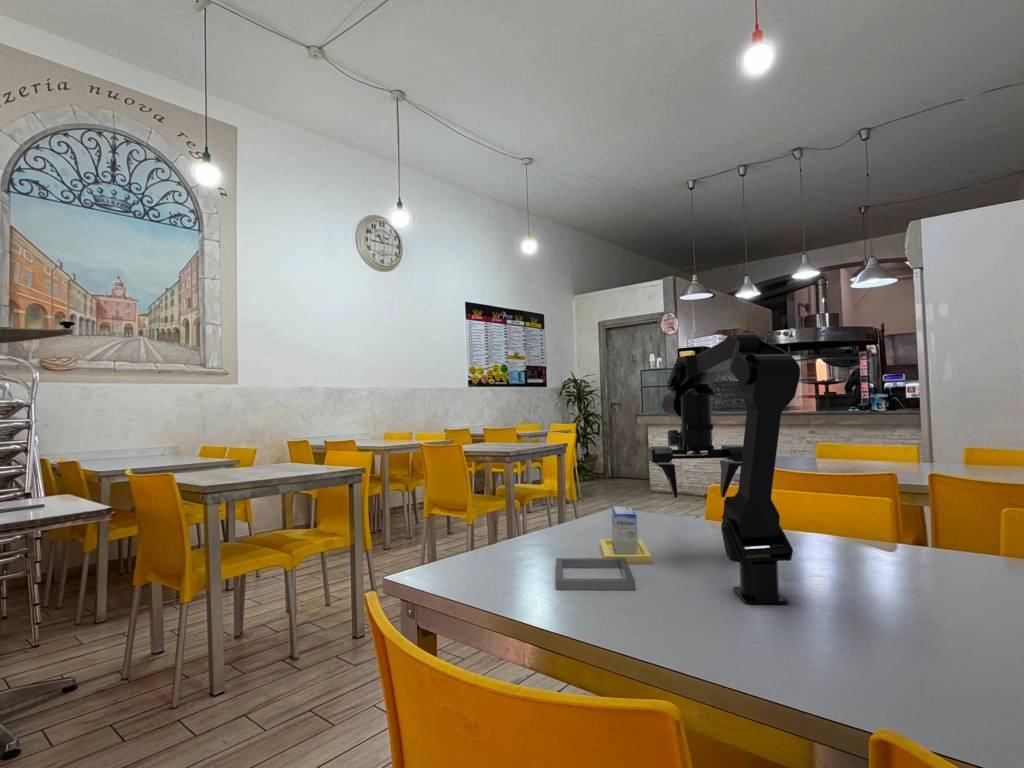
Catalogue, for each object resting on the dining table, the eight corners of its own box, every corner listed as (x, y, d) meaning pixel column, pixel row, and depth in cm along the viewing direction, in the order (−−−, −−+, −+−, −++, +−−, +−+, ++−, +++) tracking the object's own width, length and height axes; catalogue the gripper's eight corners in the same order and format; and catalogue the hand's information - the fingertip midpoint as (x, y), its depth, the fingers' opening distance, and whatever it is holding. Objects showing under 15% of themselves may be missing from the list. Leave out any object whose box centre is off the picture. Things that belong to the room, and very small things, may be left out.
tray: (651, 563, 107) (651, 556, 107) (605, 563, 108) (605, 556, 108) (641, 546, 120) (641, 539, 120) (600, 546, 121) (599, 539, 121)
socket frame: (635, 589, 93) (635, 581, 93) (556, 589, 94) (556, 580, 94) (625, 565, 106) (625, 558, 106) (556, 565, 107) (556, 558, 107)
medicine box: (612, 546, 118) (610, 506, 118) (633, 546, 118) (631, 505, 118) (616, 556, 110) (614, 513, 111) (638, 556, 110) (637, 513, 110)
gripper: (731, 416, 116) (733, 490, 116) (642, 418, 118) (644, 491, 117) (749, 418, 105) (752, 499, 105) (651, 420, 107) (654, 500, 106)
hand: (698, 497), depth 109 cm, fingers open, 9 cm apart
